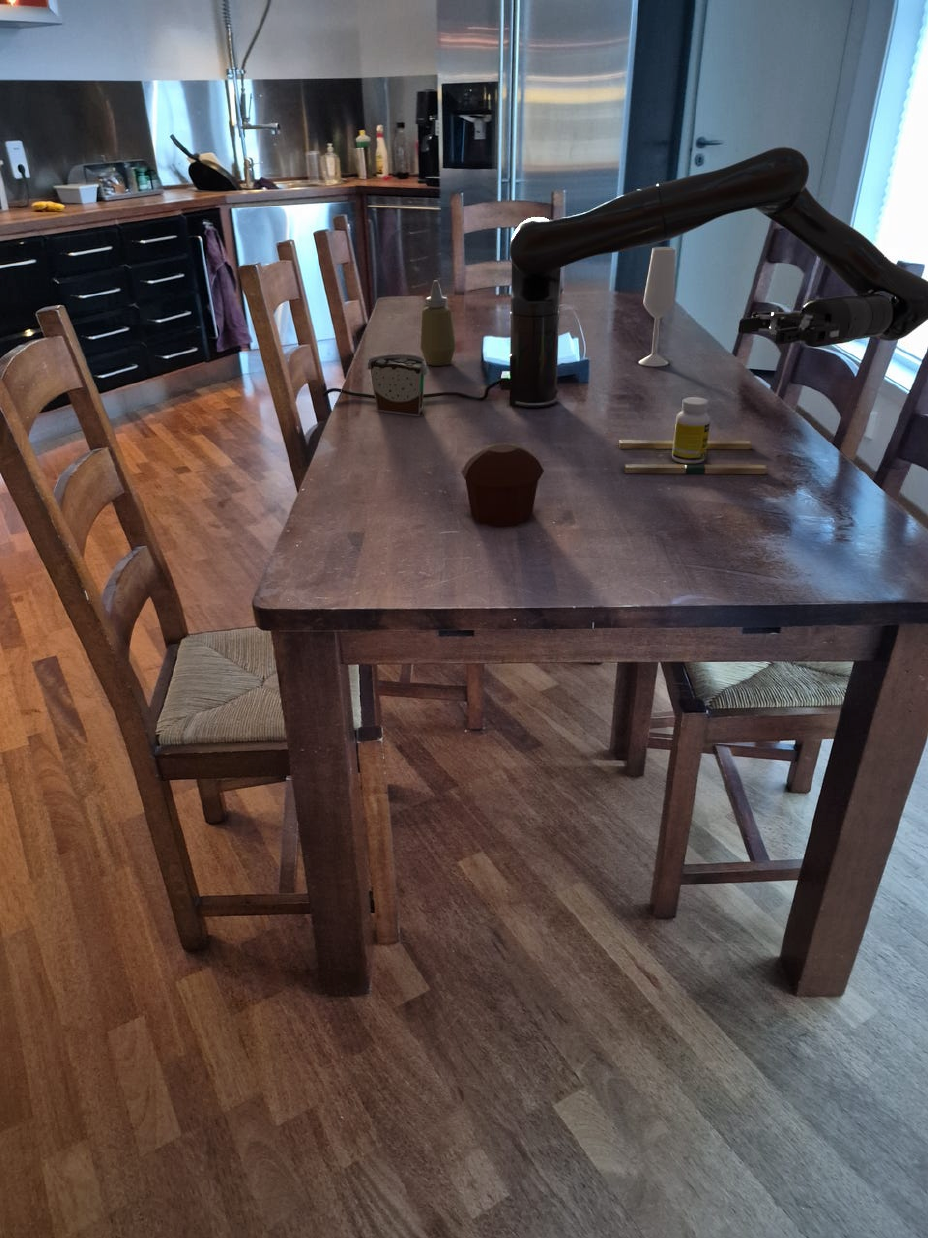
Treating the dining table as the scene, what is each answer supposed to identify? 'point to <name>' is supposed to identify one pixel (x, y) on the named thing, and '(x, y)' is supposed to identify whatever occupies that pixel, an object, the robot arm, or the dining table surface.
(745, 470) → the lane
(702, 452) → the supplement bottle
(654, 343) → the champagne flute
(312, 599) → the dining table surface
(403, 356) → the food container
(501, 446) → the muffin
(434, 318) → the squeeze bottle
